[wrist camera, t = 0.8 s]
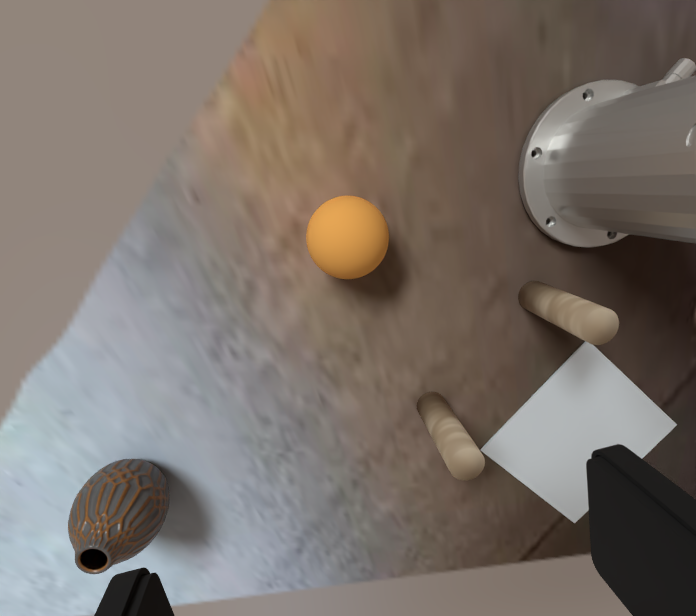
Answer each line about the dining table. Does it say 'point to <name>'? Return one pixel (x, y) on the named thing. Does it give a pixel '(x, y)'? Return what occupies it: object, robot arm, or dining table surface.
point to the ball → (347, 237)
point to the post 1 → (450, 437)
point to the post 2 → (570, 312)
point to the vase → (117, 514)
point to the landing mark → (576, 429)
